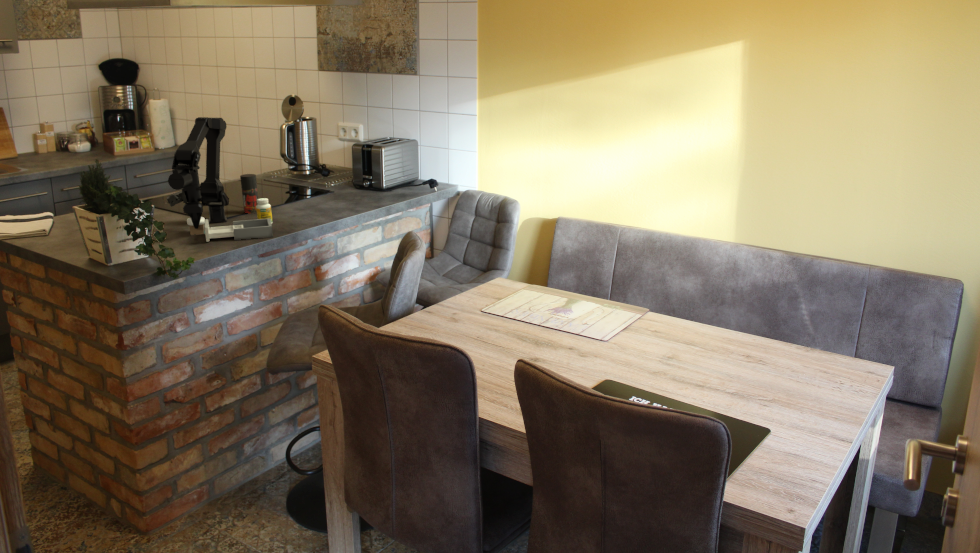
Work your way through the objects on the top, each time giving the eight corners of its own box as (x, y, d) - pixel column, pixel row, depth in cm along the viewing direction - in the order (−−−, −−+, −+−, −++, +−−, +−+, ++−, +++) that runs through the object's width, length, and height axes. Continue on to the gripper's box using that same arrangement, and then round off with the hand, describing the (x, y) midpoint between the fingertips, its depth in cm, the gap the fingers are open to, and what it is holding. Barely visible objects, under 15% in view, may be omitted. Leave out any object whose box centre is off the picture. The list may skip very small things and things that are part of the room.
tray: (205, 232, 262) (203, 219, 260) (243, 229, 266) (242, 216, 265) (204, 241, 251) (203, 227, 249) (244, 238, 255) (243, 224, 253)
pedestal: (191, 231, 265) (189, 222, 264) (204, 230, 266) (202, 221, 265) (190, 234, 261) (189, 225, 260) (203, 233, 262) (202, 224, 261)
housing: (233, 231, 265) (232, 221, 264) (270, 228, 269) (269, 218, 268) (234, 240, 254) (233, 229, 253) (273, 237, 258) (272, 226, 257)
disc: (187, 222, 264) (186, 216, 264) (205, 220, 266) (204, 215, 266) (187, 226, 259) (186, 220, 258) (204, 224, 261) (204, 219, 260)
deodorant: (241, 213, 292) (236, 176, 287) (250, 209, 297) (247, 173, 292) (253, 214, 290) (249, 177, 285) (262, 211, 295) (258, 174, 290)
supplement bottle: (270, 221, 279) (267, 197, 276) (274, 224, 275) (272, 199, 272) (256, 223, 277) (253, 198, 273) (260, 226, 272) (257, 201, 269)
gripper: (167, 180, 264) (173, 222, 269) (164, 190, 247) (171, 235, 252) (200, 178, 267) (206, 219, 272) (199, 188, 251) (205, 232, 256)
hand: (196, 226), depth 263 cm, fingers closed on disc, 6 cm apart
